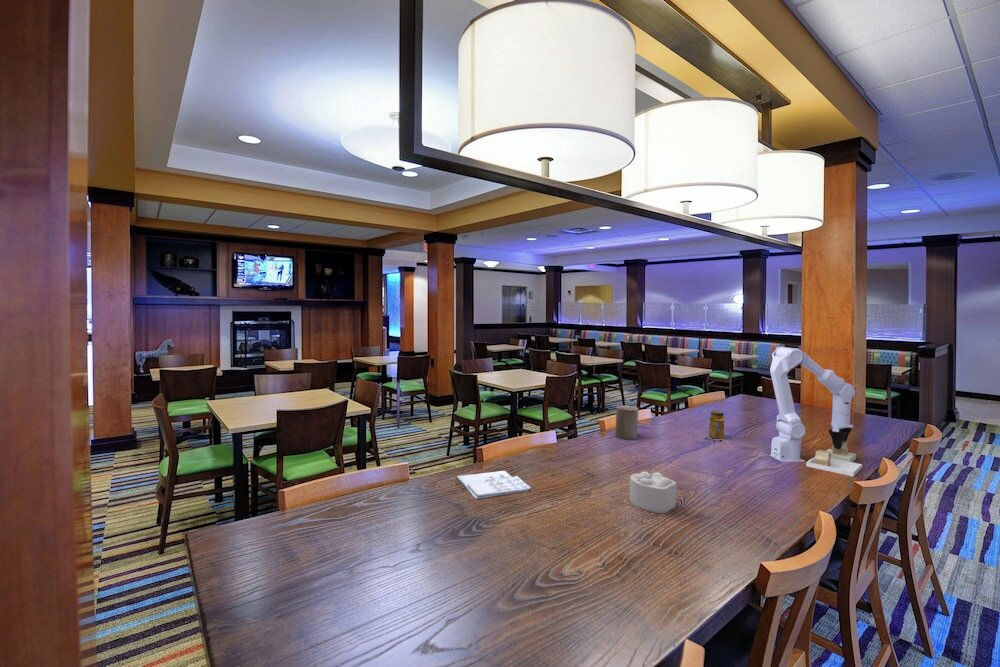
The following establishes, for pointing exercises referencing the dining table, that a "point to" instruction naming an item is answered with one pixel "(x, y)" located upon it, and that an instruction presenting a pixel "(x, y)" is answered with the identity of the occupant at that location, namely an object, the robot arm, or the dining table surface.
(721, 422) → the condiment
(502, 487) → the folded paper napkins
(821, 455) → the plain block
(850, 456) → the sage stand
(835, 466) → the parts tray
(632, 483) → the lumpy-topped squat cylinder
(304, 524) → the dining table surface
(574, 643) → the dining table surface
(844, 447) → the labelled block
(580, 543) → the dining table surface
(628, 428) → the pillar candle
